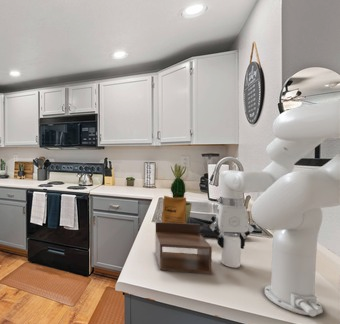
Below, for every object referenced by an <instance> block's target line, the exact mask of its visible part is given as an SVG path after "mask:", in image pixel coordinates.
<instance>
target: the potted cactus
mask: <svg viewBox="0 0 340 324" xmlns="http://www.w3.org/2000/svg"><path fill="white" fill-rule="evenodd" d="M170 192H171V194H172V198H186V195H185V194H186V193H187V188H186V181H185V180H184V179H183V178H181V177H176V178H175V177H174V179H173V181H172V182H171V185H170ZM192 205H193V204H192V202H191V201H187V200H186V221H185V223H187V221H188V217H191V210H192Z"/></svg>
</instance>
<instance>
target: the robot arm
mask: <svg viewBox="0 0 340 324" xmlns="http://www.w3.org/2000/svg"><path fill="white" fill-rule="evenodd" d="M271 129H272V133H273V135H274V136H275V138H274V139H273V140H272V141H270V143H269V144H267V145H266V148H265V153H266V155H267V157H269V159H270V160H272V161H271V162H270V163H269V164H268V165H267V166H266V167H265V168H263V169H262V170H246V171H245V170H244V171H241V170H233V169H224V170H222V171H221V172H220V186H219V187H220V191H219V192H220V195H219V198H216V203H218V206H217V208H216V216H215V217H216V221H214V222H213V223H212V224H211V225H209V227H210V228H211V229H212V231H213V232H214V233H215V234H216V235H217V237H216V238H217V240H216V241H217V242H216V243H217V245H218V246H219V247H220V249H221V248H223V247H224V238H223V237H222V236H223V234H224V232H238V233H239V237H240V239H241V250H244V249H245V245H246V239H247V237H248V236H249V235H250V234H251V233H252V232H254V230H255V228H254V227H253V226H252V225H251V224H250V223H249V217H248V212H247V207H246V205H244V193H261V194H260V195H259V196H258V197H257V198H256V199H255V200H254V202H253V203H252V205H251V210H250V214H251V218H252V220H253V221H254V223H255V224H256V225H257V226H259V227H260V228H261V229H265V230H268V231H274V232H273V234H272V235H273V236H272V245H271V276H270V277H271V278H270V284H268V285H266V286H265V287H264V295H265V296H266V297H267V298H268V300H269V301H271V302H272V303H274V305H277V306H278V307H281V308H282V309H285V310H287V311H290V312H292V313H294V314H295V313H296V314H299V315H304V316H310V317H316V316H318V315H321V314H322V313H323V312H324V309H323V306H322V304H321V303H320V301H319V300H318V297H317V296H316V269H317V249H318V248H317V247H318V237H319V233H320V229H321V226H322V224H323V223H322V222H323V211H322V209H323V208H332V207H338V206H340V152H339V153H337V154H336V155H334V156H333V157H332V159H330V160H328V162H326V163H325V164H323V165H322V166H320V167H318V168H315V169H309V170H307V169H306V170H296V171H294V168H295V164H296V163H297V162H299V161H300V160H302V159H303V158H304V157H305V156H306V155H308V154H309V153H310V152H311V151H313V150H314V149H315V148H317V147H318V146H319V145H321V144H322V143H323V142H324V141H326V140H337V139H339V140H340V99H334V100H329V101H324V102H319V103H314V104H309V105H303V106H297V107H293V108H290V109H287V110H284V111H283V112H281V113H280V114H279V115H278V116H277V117H276V118H275V119H274V120H273V123H272V128H271ZM215 227H217V228H219V229H218V231H217V230H216V229H215Z"/></svg>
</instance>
